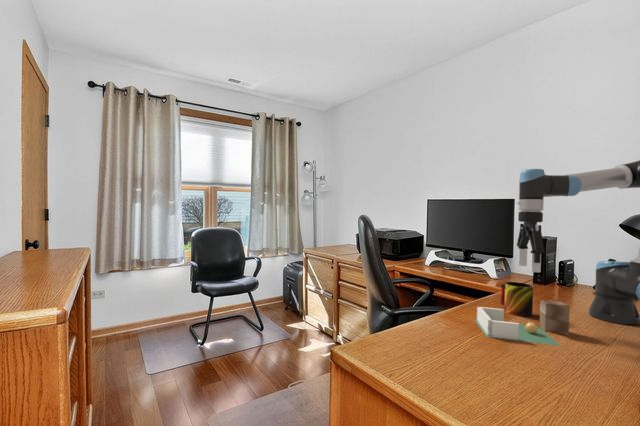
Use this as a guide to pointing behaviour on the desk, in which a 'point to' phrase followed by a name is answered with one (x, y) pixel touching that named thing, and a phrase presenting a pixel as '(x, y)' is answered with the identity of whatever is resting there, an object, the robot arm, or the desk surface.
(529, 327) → the ball
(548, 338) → the mat
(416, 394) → the desk surface
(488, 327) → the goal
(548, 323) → the player block
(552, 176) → the robot arm
